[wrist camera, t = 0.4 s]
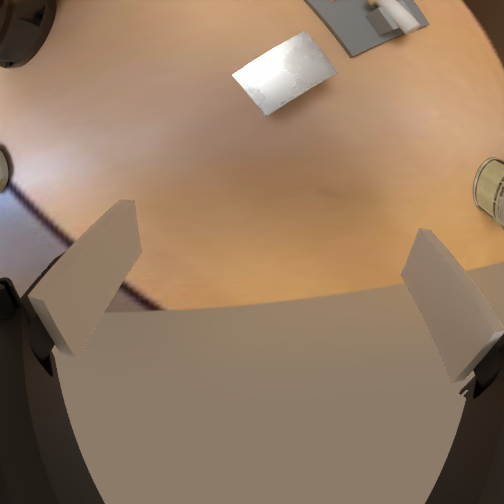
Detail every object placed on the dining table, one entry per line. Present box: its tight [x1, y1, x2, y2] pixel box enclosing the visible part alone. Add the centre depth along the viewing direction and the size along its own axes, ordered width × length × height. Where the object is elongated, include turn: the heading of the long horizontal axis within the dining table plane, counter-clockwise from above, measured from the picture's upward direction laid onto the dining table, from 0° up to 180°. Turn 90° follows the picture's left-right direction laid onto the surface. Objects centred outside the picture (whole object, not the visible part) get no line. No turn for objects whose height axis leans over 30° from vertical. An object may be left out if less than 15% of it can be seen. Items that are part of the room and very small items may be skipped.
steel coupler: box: [233, 30, 338, 116], centre depth 23 cm, size 5×8×9 cm, turn 127°
